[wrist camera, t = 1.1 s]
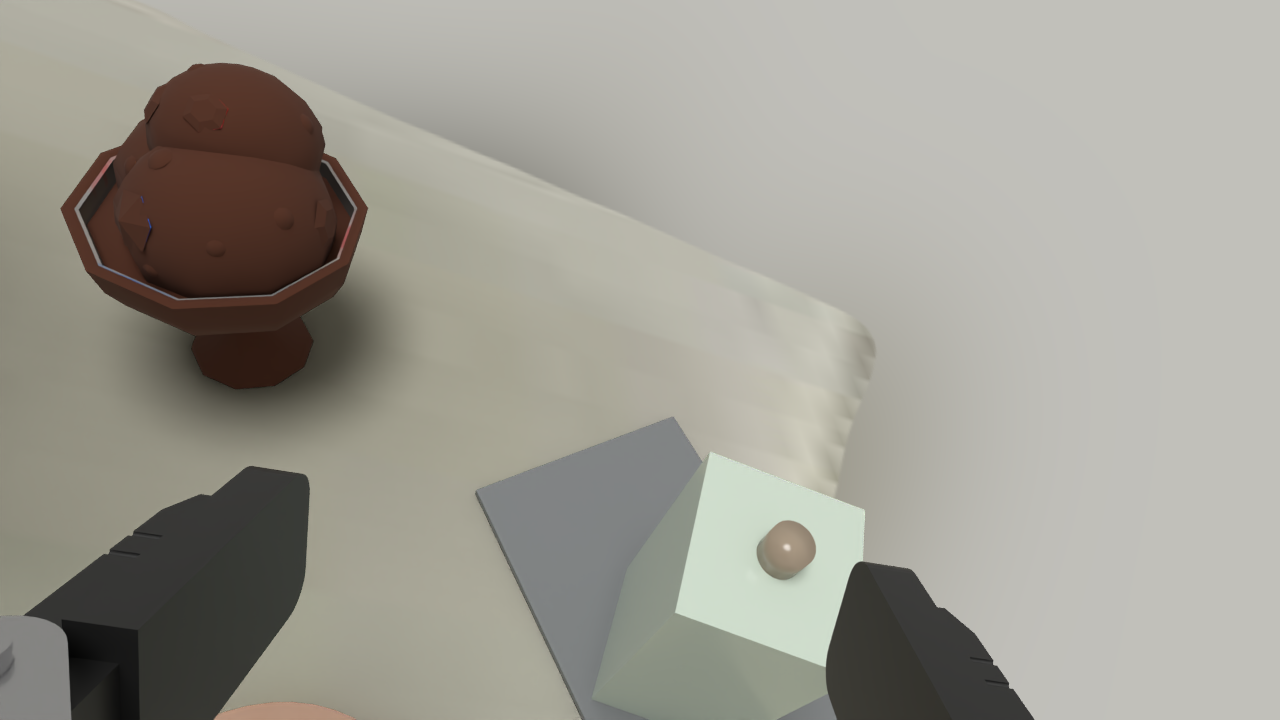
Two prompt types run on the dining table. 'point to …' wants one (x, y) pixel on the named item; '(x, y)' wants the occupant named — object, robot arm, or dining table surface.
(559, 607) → the mat
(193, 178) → the ice cream bowl
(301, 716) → the saucer
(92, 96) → the dining table surface
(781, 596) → the tall green carton
